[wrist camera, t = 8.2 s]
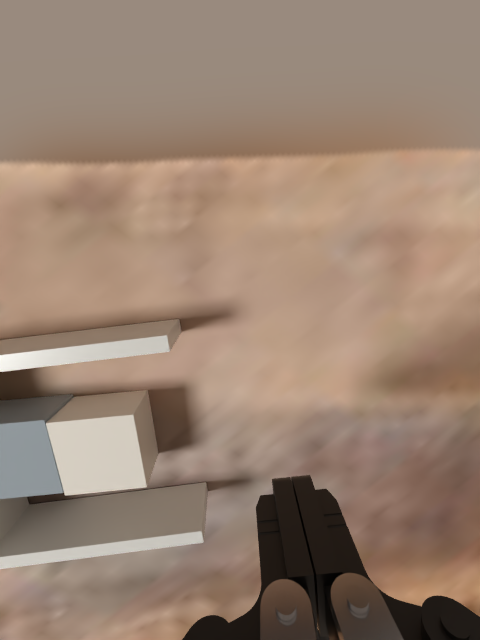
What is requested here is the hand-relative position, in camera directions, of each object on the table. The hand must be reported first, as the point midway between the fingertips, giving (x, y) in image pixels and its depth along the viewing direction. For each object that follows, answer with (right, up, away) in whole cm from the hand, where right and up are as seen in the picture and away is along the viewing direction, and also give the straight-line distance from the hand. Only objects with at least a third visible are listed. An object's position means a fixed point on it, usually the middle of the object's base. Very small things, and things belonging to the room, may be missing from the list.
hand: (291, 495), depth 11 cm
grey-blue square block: (-14, 0, +7) cm, 16 cm away
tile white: (-10, 0, +7) cm, 12 cm away
